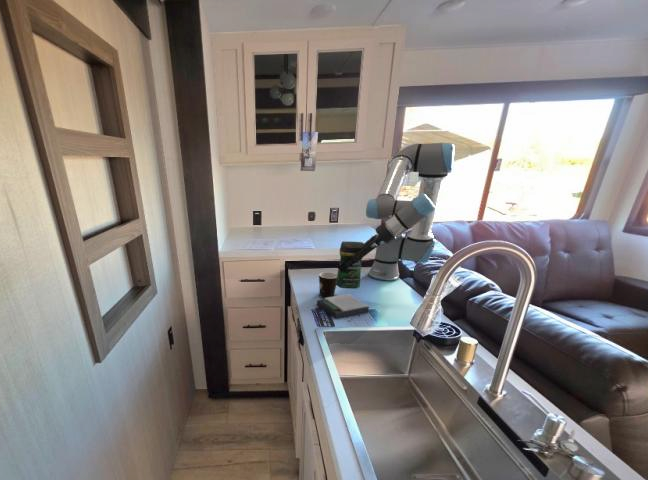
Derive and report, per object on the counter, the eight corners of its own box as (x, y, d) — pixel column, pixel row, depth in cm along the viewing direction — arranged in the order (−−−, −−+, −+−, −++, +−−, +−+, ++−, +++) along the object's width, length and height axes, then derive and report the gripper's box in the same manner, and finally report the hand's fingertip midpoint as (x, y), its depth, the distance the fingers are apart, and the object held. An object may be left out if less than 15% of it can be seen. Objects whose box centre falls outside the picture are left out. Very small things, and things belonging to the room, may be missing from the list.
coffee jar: (336, 289, 127) (341, 243, 119) (334, 282, 134) (339, 239, 126) (361, 290, 126) (367, 244, 118) (357, 283, 133) (363, 239, 125)
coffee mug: (336, 299, 142) (338, 279, 138) (317, 298, 144) (318, 277, 139) (335, 290, 152) (337, 270, 148) (317, 289, 154) (319, 269, 150)
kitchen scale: (347, 299, 142) (348, 293, 141) (368, 312, 130) (369, 305, 129) (316, 305, 137) (317, 298, 135) (335, 319, 125) (336, 311, 123)
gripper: (385, 217, 124) (340, 253, 136) (381, 227, 106) (330, 266, 119) (397, 232, 124) (351, 266, 137) (395, 244, 106) (342, 281, 119)
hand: (341, 266), depth 128 cm, fingers closed on coffee jar, 8 cm apart
